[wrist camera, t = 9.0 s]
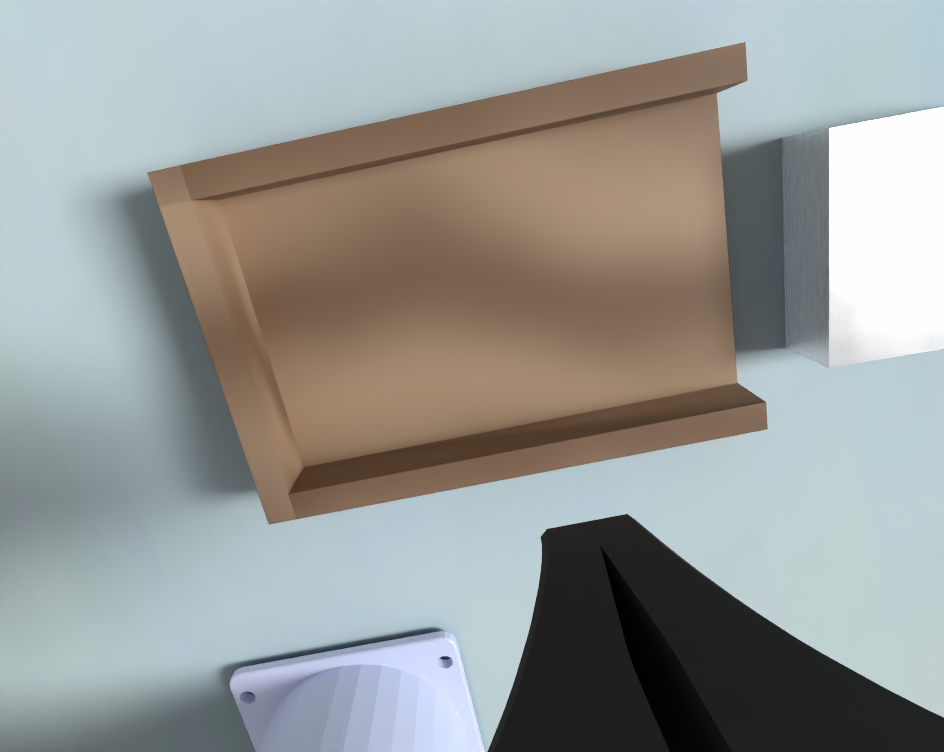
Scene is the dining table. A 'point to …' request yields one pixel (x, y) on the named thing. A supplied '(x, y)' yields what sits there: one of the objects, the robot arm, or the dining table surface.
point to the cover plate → (865, 239)
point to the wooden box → (471, 288)
